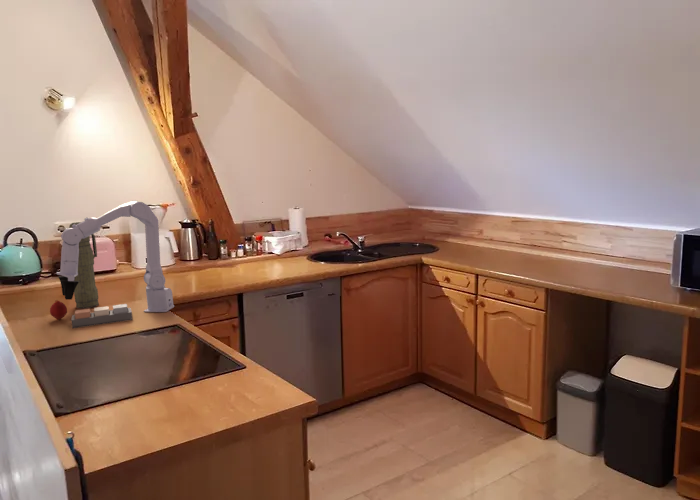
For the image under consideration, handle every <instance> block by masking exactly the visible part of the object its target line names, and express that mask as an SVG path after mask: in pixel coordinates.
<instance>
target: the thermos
mask: <svg viewBox="0 0 700 500" xmlns="http://www.w3.org/2000/svg"><path fill="white" fill-rule="evenodd" d="M81 222H82V221H80V222H79V221H78V222H72V223H70V224H69V227H68V228H73V227H72V225H74V224H75V225H77V224H79V223H81ZM90 237H91V238H90ZM91 243H92V246H91ZM97 257H98V249H97V240H96V235H95V233H94V234H92V235H90V236H88V237H86V238H84V239H81V241H80V242H79V257H78V272H77V273H78V275H77V276H76V277H75V279H74V281H79V283H78V285H77V286H76V288H75V291H74V294H73V297H74V302H75V306H76V308H77V309H79V310H83V309H91V308H96V307H97V306H98V307H99V291H98V288H97V285H96V278H95V277H96V276H95V269H94V268H95V267H94V265H95V258H97Z"/></svg>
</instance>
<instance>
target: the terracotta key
mask: <svg viewBox="0 0 700 500" xmlns="http://www.w3.org/2000/svg"><path fill="white" fill-rule="evenodd" d="M91 313H92V312H91V308H84V309H76V310H74V315H75V319H80V318H88V317H91Z"/></svg>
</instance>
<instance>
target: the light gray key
mask: <svg viewBox="0 0 700 500" xmlns="http://www.w3.org/2000/svg"><path fill="white" fill-rule="evenodd" d="M112 308H113V309H112V310H113V312H114V314H118V313H125V312H128V308H129V307H128V304H127V303H124V304H123V303H122V304H116V305H115V304H113V305H112Z"/></svg>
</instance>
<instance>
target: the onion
mask: <svg viewBox="0 0 700 500" xmlns="http://www.w3.org/2000/svg"><path fill="white" fill-rule="evenodd" d="M49 312H50V315H51V317H52V318H54V319H56V320H58V321H60V320H62V319H63V318H64V317H66V315H67V313H68V308H67V306H66V304H64V303H63V302H62V301H60V300H58V299H54V303H53V304H51V306H50V308H49Z"/></svg>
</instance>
